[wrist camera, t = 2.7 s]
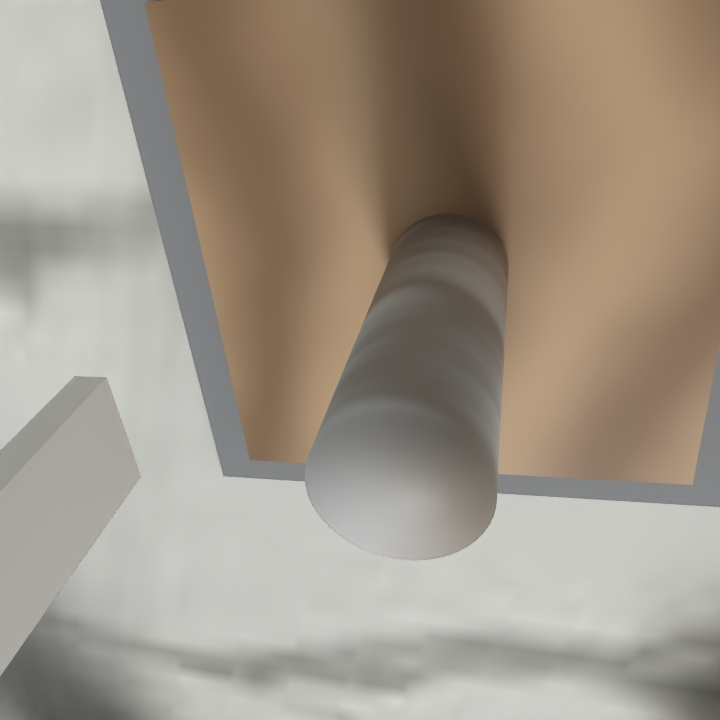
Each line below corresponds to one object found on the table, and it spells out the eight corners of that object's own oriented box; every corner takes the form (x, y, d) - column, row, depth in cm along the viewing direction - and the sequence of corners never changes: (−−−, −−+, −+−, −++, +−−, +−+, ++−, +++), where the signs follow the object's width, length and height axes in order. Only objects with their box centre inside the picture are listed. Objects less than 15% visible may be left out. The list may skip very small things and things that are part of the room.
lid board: (259, 441, 28) (126, 696, 19) (163, -2, 20) (-157, 61, 11) (685, 462, 24) (783, 790, 15) (782, -66, 16) (1122, -58, 7)
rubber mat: (228, 467, 30) (223, 476, 29) (92, -75, 20) (80, -76, 19) (733, 496, 26) (737, 508, 25) (893, -183, 15) (905, -187, 15)
